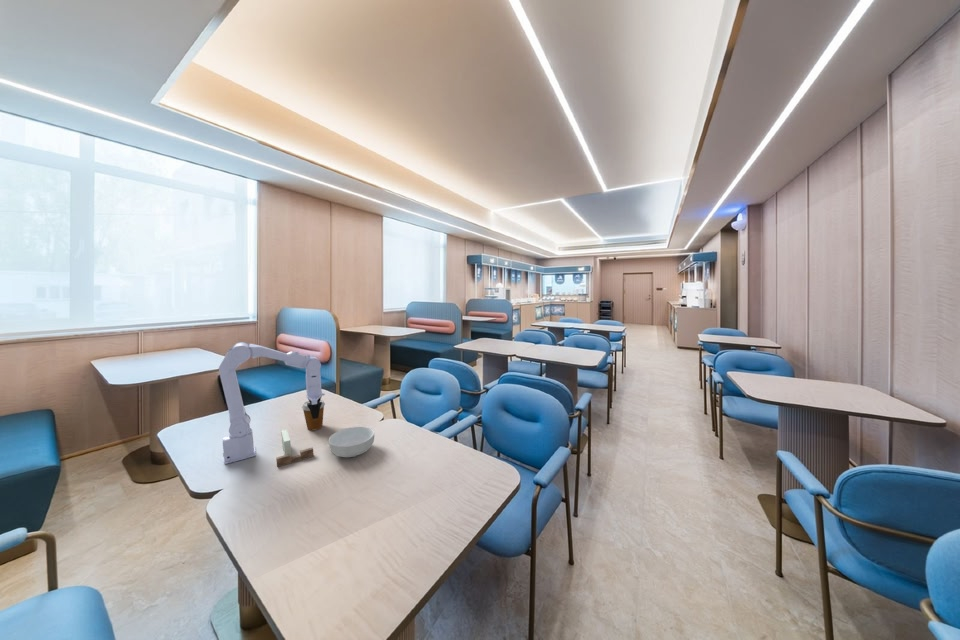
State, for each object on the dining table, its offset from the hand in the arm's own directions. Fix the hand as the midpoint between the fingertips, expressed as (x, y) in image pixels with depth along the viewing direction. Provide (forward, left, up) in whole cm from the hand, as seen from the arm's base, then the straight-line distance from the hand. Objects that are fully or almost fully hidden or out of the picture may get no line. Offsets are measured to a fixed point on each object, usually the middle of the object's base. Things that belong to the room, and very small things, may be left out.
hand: (315, 415), depth 137 cm
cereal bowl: (+9, -23, -10) cm, 27 cm away
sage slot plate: (-12, -7, -10) cm, 17 cm away
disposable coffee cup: (+1, +11, -10) cm, 15 cm away
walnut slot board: (-10, -16, -10) cm, 21 cm away
